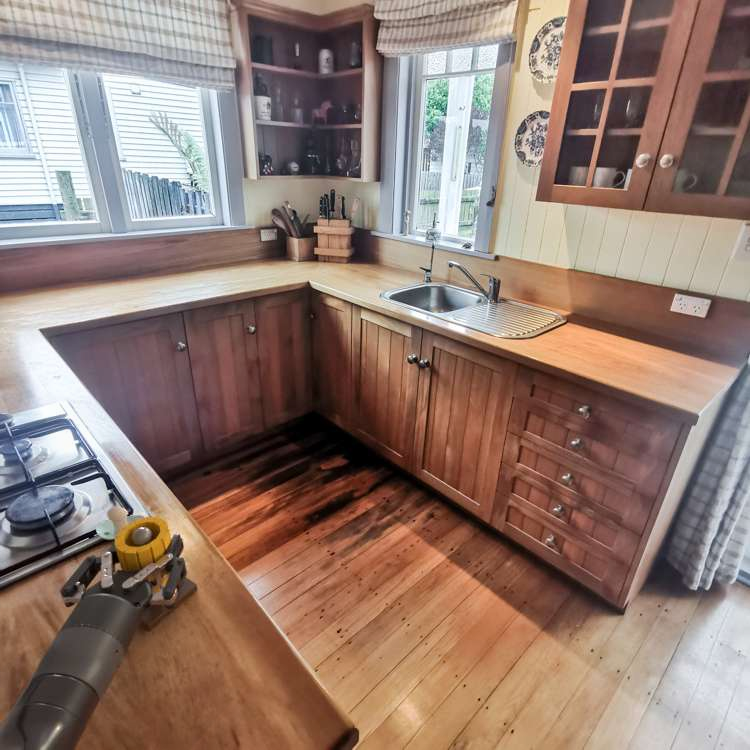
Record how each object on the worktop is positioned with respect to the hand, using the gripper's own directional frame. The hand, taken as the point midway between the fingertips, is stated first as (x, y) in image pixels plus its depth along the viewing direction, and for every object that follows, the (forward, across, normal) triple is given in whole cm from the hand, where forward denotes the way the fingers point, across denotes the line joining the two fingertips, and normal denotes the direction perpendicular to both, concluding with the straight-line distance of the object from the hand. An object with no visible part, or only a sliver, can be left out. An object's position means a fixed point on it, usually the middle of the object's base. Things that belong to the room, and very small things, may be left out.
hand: (152, 537), depth 66 cm
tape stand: (-2, 0, +10) cm, 10 cm away
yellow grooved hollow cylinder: (-2, 0, +6) cm, 6 cm away
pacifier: (+11, +11, +10) cm, 18 cm away
